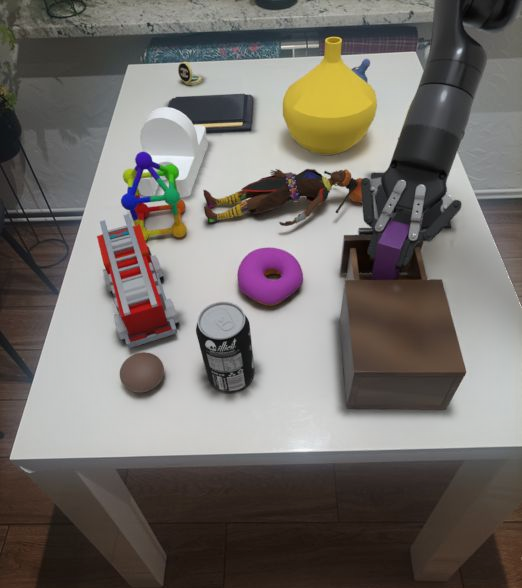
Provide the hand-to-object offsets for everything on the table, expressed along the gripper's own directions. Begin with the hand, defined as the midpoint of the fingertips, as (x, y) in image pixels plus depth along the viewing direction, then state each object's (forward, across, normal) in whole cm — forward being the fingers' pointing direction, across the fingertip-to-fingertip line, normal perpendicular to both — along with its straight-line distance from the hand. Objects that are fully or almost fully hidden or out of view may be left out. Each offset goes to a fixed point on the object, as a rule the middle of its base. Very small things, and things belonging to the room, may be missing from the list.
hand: (385, 264), depth 64 cm
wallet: (-21, -53, +35) cm, 67 cm away
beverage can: (+21, -14, -7) cm, 26 cm away
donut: (+8, -17, +6) cm, 20 cm away
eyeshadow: (-30, -66, +44) cm, 85 cm away
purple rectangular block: (+4, 0, +7) cm, 8 cm away
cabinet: (+13, +5, +1) cm, 14 cm away
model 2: (-33, -27, +46) cm, 63 cm away
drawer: (+4, -1, +8) cm, 9 cm away
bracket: (-7, -49, +21) cm, 54 cm away
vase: (-21, -24, +35) cm, 48 cm away
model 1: (+5, -41, +9) cm, 43 cm away
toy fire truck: (+17, -33, -3) cm, 37 cm away
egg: (+25, -25, -11) cm, 37 cm away
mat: (-13, -3, +26) cm, 29 cm away
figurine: (-5, -22, +19) cm, 30 cm away
